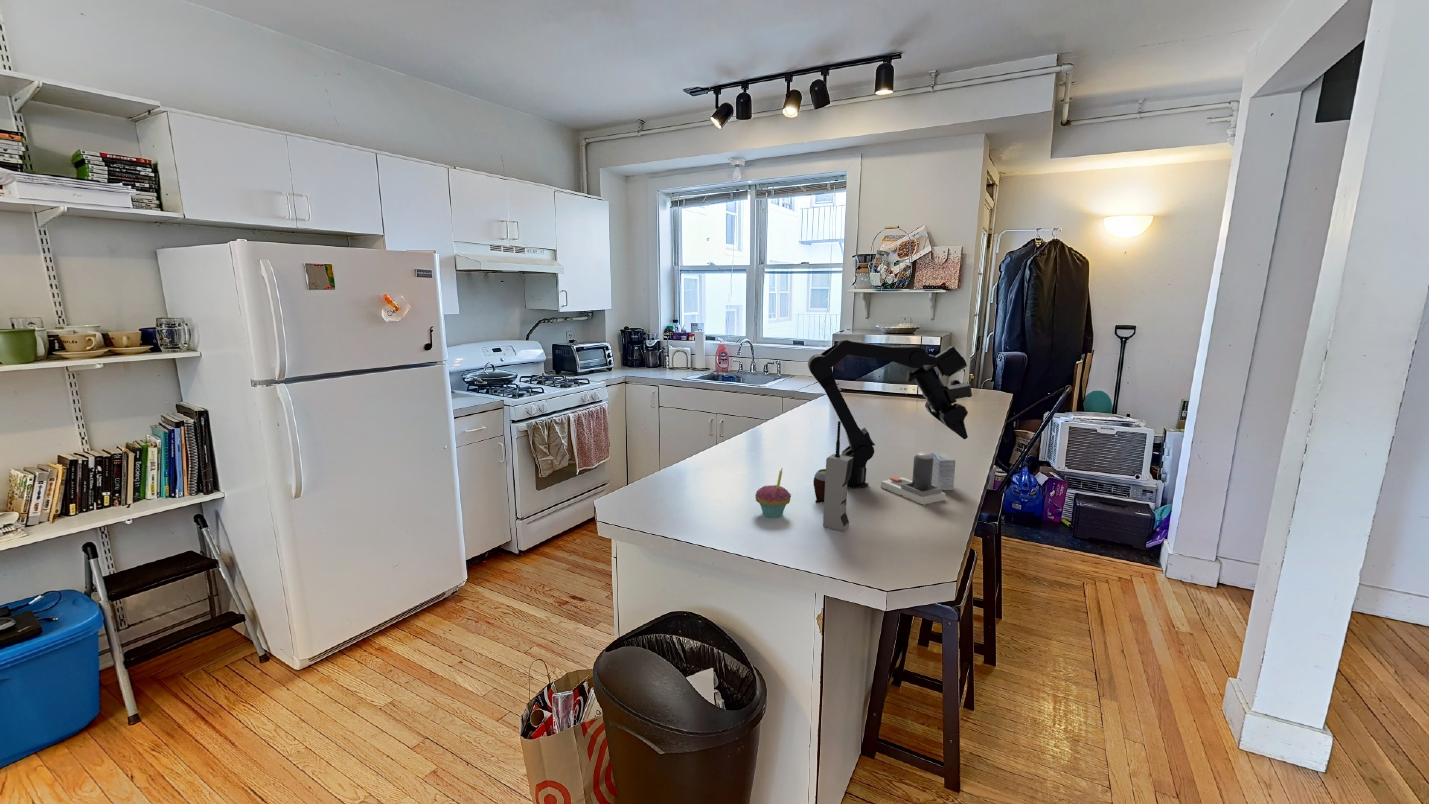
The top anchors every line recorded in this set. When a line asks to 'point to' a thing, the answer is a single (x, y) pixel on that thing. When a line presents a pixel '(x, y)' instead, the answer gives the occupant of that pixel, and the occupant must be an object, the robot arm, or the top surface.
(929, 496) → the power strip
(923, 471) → the grey cylinder
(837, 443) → the vintage mobile phone
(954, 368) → the robot arm
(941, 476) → the medicine box
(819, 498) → the mate gourd
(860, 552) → the top surface
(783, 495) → the cupcake
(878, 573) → the top surface
